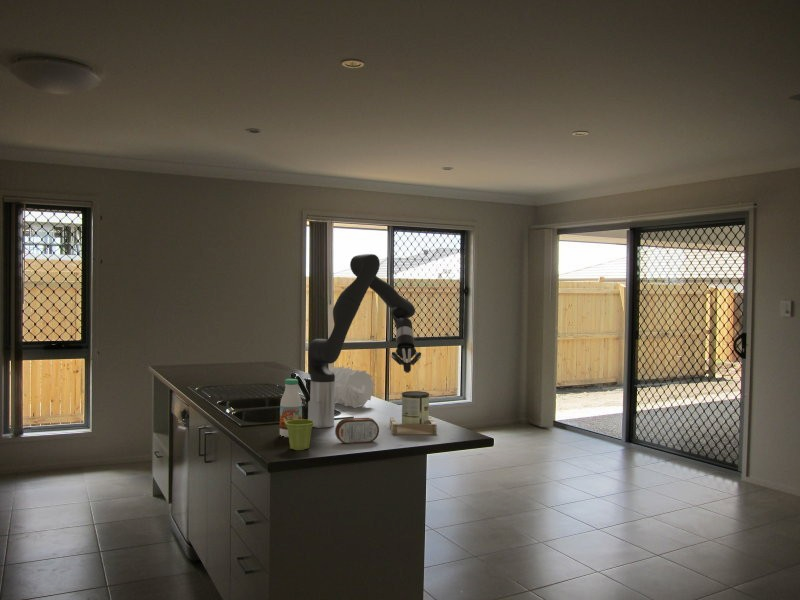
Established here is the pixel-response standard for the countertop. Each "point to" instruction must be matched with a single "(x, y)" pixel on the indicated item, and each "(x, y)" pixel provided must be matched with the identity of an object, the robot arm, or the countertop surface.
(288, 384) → the milk bottle
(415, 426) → the wooden tray
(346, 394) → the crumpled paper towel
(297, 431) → the plant pot
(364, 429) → the tin
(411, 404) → the coffee can
